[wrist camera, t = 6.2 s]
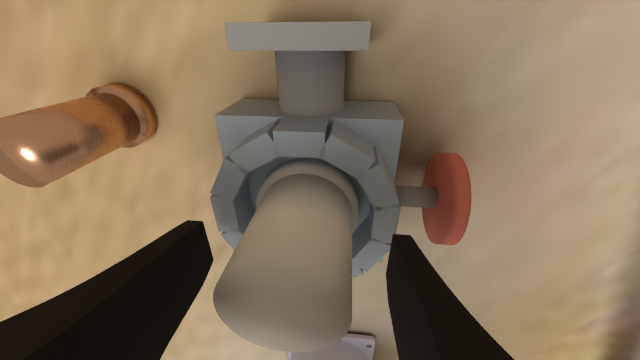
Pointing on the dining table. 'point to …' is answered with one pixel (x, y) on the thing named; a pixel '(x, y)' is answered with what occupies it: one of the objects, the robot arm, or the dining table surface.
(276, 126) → the valve
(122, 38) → the dining table surface
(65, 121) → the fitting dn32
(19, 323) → the robot arm
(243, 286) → the cylinder
